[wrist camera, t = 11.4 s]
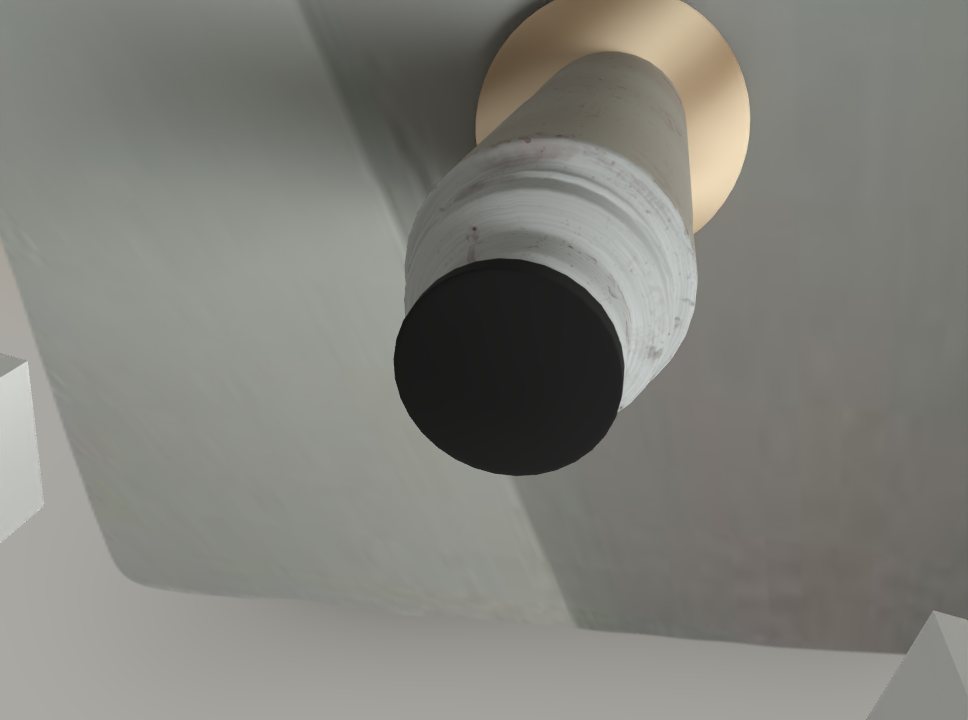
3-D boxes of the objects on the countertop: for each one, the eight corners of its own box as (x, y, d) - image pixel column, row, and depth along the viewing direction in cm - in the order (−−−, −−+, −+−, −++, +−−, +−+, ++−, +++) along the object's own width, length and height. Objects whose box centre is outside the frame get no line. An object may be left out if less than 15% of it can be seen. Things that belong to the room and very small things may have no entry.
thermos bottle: (700, 187, 41) (738, 519, 17) (553, 224, 44) (397, 558, 19) (668, 28, 38) (655, 145, 14) (512, 78, 41) (265, 250, 16)
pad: (428, 107, 43) (423, 110, 42) (642, -83, 37) (642, -85, 36) (581, 303, 46) (580, 309, 45) (802, 156, 40) (805, 160, 39)
